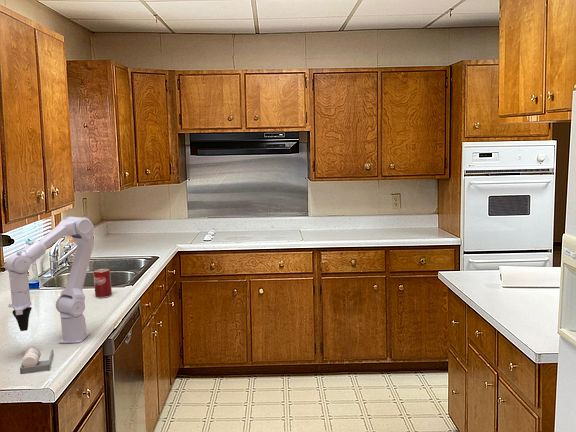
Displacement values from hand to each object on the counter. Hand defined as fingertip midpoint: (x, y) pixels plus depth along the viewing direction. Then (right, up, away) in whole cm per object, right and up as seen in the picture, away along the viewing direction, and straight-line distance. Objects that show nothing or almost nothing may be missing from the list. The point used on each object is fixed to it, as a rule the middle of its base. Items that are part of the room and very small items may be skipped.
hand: (24, 330), depth 220 cm
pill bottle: (+6, -7, -7) cm, 11 cm away
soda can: (+6, +2, +75) cm, 76 cm away
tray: (+8, -9, -9) cm, 15 cm away
